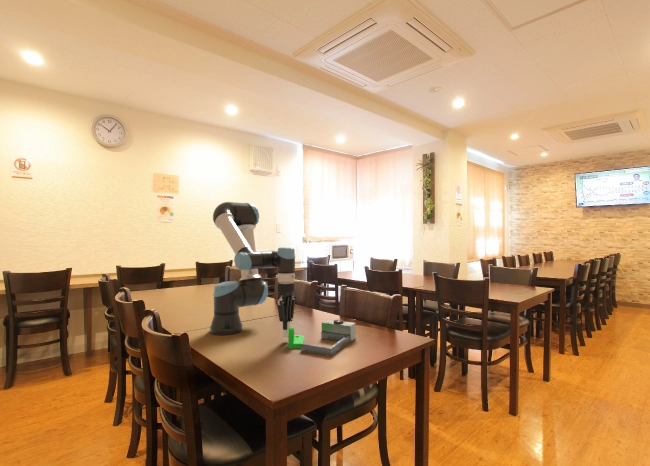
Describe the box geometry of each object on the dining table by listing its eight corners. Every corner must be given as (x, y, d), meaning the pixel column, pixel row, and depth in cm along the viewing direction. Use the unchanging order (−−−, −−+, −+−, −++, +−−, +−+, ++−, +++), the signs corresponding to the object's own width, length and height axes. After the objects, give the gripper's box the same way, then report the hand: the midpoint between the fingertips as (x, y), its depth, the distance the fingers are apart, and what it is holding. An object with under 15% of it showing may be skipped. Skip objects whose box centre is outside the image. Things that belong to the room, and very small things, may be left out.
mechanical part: (303, 348, 140) (303, 329, 140) (288, 348, 140) (288, 329, 140) (304, 339, 152) (304, 321, 152) (290, 339, 152) (290, 321, 152)
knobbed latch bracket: (300, 351, 136) (300, 331, 136) (327, 334, 159) (327, 317, 159) (332, 356, 130) (332, 336, 130) (355, 338, 153) (355, 321, 153)
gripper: (285, 285, 142) (285, 341, 141) (301, 281, 153) (301, 333, 153) (270, 283, 145) (270, 339, 145) (287, 280, 157) (287, 331, 156)
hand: (286, 336), depth 149 cm, fingers closed
